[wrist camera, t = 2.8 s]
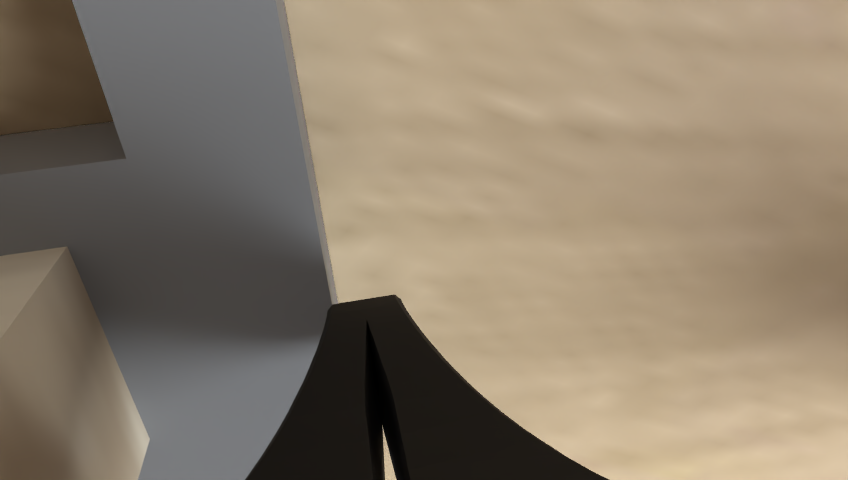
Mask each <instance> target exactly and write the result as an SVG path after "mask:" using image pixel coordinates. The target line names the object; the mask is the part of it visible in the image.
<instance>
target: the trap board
mask: <svg viewBox="0 0 848 480" xmlns="http://www.w3.org/2000/svg"><path fill="white" fill-rule="evenodd" d="M72 2H73V5H74V8H75V11H76V14H77V17H78V20H79V23H80V25H81V28H82V31H83V34H84V37H85V40H86V43H87V46H88V49H89V52H90V55H91V57H92V60H93V63H94V66H95V69H96V72H97V75H98V78H99V81H100V84H101V87H102V89H103V92H104V95H105V98H106V101H107V104H108V107H109V110H110V113H111V116H112V119H113V121H114V122H106V123H98V124H90V125H81V126H73V127H65V128H57V129H49V130H40V131H32V132H24V133H16V134H8V135H0V256H4V255H11V254H18V253H25V252H32V251H39V250H46V249H53V248H60V247H68V249H69V252H70V254H71V256H72V259H73V261H74V263H75V266H76V268H77V270H78V273H79V275H80V277H81V280H82V282H83V284H84V287H85V289H86V291H87V294H88V296H89V298H90V301H91V303H92V305H93V308H94V310H95V312H96V315H97V317H98V319H99V322H100V324H101V326H102V329H103V331H104V333H105V336H106V338H107V340H108V343H109V345H110V347H111V350H112V352H113V354H114V357H115V359H116V361H117V364H118V366H119V368H120V371H121V373H122V375H123V378H124V380H125V382H126V385H127V387H128V389H129V392H130V394H131V396H132V399H133V401H134V403H135V406H136V408H137V410H138V413H139V415H140V417H141V420H142V422H143V424H144V427H145V429H146V431H147V434H148V436H149V438H150V440H149V444H148V447H147V451H146V454H145V457H144V461H143V464H142V467H141V471H140V474H139V478H138V480H245V479H246V478H247V476H248V475H249V473H250V472H251V470H252V469H253V468H254V466H255V465H256V463H257V462H258V460H259V459H260V458H261V456H262V455H263V453H264V451H265V450H266V448H267V447H268V445H269V443H270V442H271V440H272V439H273V437H274V436H275V434H276V432H277V430H278V429H279V427H280V425H281V424H282V422H283V420H284V418H285V416H286V415H287V413H288V411H289V409H290V407H291V405H292V403H293V401H294V399H295V397H296V395H297V393H298V391H299V389H300V387H301V385H302V383H303V381H304V379H305V376H306V374H307V372H308V369H309V367H310V364H311V362H312V360H313V357H314V355H315V352H316V350H317V347H318V344H319V341H320V338H321V335H322V332H323V329H324V325H325V321H326V317H327V311H328V309H329V308H330V307H331V306H332V305H333V304H338V300H337V295H336V289H335V284H334V278H333V273H332V267H331V261H330V256H329V250H328V245H327V239H326V233H325V228H324V222H323V217H322V211H321V206H320V200H319V194H318V189H317V183H316V178H315V172H314V166H313V161H312V155H311V150H310V144H309V139H308V133H307V127H306V122H305V116H304V111H303V105H302V99H301V94H300V88H299V83H298V77H297V72H296V66H295V60H294V55H293V49H292V44H291V38H290V32H289V27H288V21H287V16H286V10H285V5H284V0H72Z"/></svg>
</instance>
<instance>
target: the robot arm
mask: <svg viewBox="0 0 848 480" xmlns="http://www.w3.org/2000/svg"><path fill="white" fill-rule="evenodd" d="M382 425H383V429H384V433H385V437H386V441H387V445H388V448H389V452H390V456H391V460H392V464H393V468H394V471H395V475H396V479H397V480H609V479H607V478H604V477H602V476H600V475H598V474H596V473H594V472H592V471H591V470H589V469H587V468H585V467H583V466H582V465H580V464H578V463H576V462H575V461H573V460H571V459H569V458H568V457H566V456H564V455H563V454H561V453H560V452H558V451H557V450H555V449H554V448H552V447H551V446H549V445H548V444H546V443H545V442H543V441H541V440H540V439H538V438H537V437H535V436H534V435H532V434H531V433H529V432H528V431H526V430H525V429H523V428H522V427H521V426H519V425H518V424H517V423H515V422H514V421H513V420H512V419H510V418H509V417H508V416H506V415H505V414H504V413H502V412H501V411H500V410H499V409H497V408H496V407H495V406H494V405H493V404H491V403H490V402H489V401H488V400H487V399H485V398H484V397H483V396H482V395H481V394H480V393H479V392H478V391H476V390H475V389H474V388H473V387H472V386H471V385H470V384H469V383H468V382H467V381H466V380H465V379H464V378H463V377H462V376H461V375H460V374H459V373H458V372H457V371H456V370H455V369H454V368H453V367H452V366H451V365H450V364H449V363H448V362H447V361H446V360H445V359H444V357H443V356H442V355H441V354H440V353H439V352H438V350H437V349H436V348H435V347H434V346H433V345H432V344H431V342H430V341H429V340H428V339H427V338H426V336H425V335H424V334H423V333H422V331H421V330H420V329H419V327H418V326H417V325H416V323H415V322H414V320H413V319H412V318H411V316H410V315H409V313H408V312H407V310H406V308H405V307H404V305H403V303H402V301H401V299H400V298H399V297H397V296H396V295H389V296H383V297H376V298H370V299H364V300H358V301H351V302H345V303H339V304H333V305H332V306H331V307H330V308H329V309H328V311H327V317H326V321H325V325H324V329H323V332H322V335H321V338H320V341H319V344H318V347H317V350H316V352H315V355H314V357H313V360H312V362H311V364H310V367H309V369H308V372H307V374H306V376H305V379H304V381H303V383H302V385H301V387H300V389H299V391H298V393H297V395H296V397H295V399H294V401H293V403H292V405H291V407H290V409H289V411H288V413H287V415H286V416H285V418H284V420H283V422H282V424H281V425H280V427H279V429H278V430H277V432H276V434H275V436H274V437H273V439H272V440H271V442H270V443H269V445H268V447H267V448H266V450H265V451H264V453H263V455H262V456H261V458H260V459H259V460H258V462H257V463H256V465H255V466H254V468H253V469H252V470H251V472H250V473H249V475H248V476H247V478H246V479H245V480H385V471H384V450H383V429H382Z"/></svg>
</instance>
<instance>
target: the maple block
mask: <svg viewBox="0 0 848 480" xmlns="http://www.w3.org/2000/svg"><path fill="white" fill-rule="evenodd" d="M149 440H150V438H149V436H148V434H147V431H146V429H145V427H144V424H143V422H142V420H141V417H140V415H139V413H138V410H137V408H136V406H135V403H134V401H133V399H132V396H131V394H130V392H129V389H128V387H127V385H126V382H125V380H124V378H123V375H122V373H121V371H120V368H119V366H118V364H117V361H116V359H115V357H114V354H113V352H112V350H111V347H110V345H109V343H108V340H107V338H106V336H105V333H104V331H103V329H102V326H101V324H100V322H99V319H98V317H97V315H96V312H95V310H94V308H93V305H92V303H91V301H90V298H89V296H88V294H87V291H86V289H85V287H84V284H83V282H82V280H81V277H80V275H79V273H78V270H77V268H76V266H75V263H74V261H73V259H72V256H71V254H70V252H69V249H68V247H60V248H53V249H46V250H39V251H32V252H25V253H18V254H11V255H4V256H0V480H138V478H139V474H140V471H141V467H142V464H143V461H144V457H145V454H146V451H147V447H148V444H149Z"/></svg>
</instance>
